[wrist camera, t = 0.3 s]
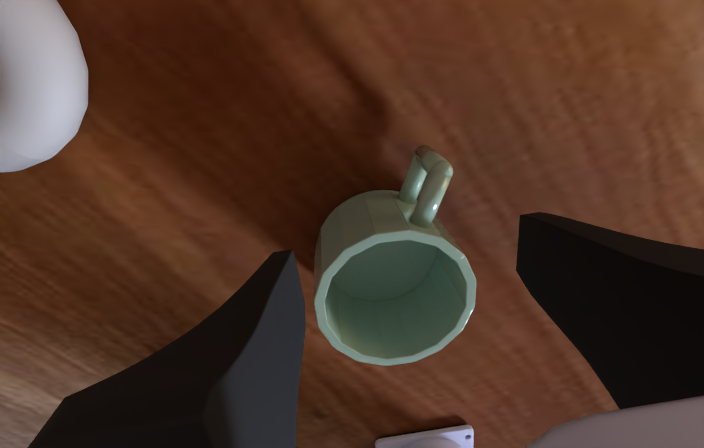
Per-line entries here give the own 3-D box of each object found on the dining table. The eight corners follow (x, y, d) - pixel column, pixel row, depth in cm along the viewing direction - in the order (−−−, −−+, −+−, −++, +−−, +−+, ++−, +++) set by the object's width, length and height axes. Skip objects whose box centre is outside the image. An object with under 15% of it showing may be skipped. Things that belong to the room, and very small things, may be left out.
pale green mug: (415, 311, 25) (439, 375, 20) (302, 288, 24) (297, 351, 19) (484, 159, 21) (535, 191, 16) (352, 119, 19) (364, 141, 14)
